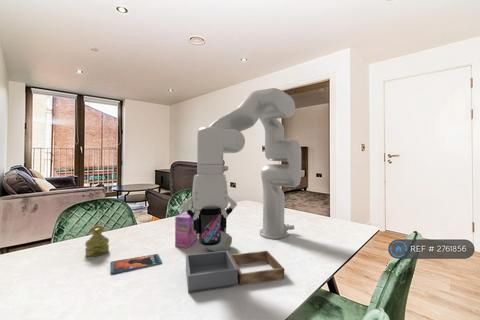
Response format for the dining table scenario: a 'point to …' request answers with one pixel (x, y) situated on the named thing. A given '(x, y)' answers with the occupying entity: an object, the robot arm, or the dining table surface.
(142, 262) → the smartphone
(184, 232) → the box
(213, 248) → the air freshener
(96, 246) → the olive green tiered piece
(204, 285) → the bin
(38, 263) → the dining table surface
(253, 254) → the frame
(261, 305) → the dining table surface
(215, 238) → the supplement container
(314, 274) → the dining table surface
